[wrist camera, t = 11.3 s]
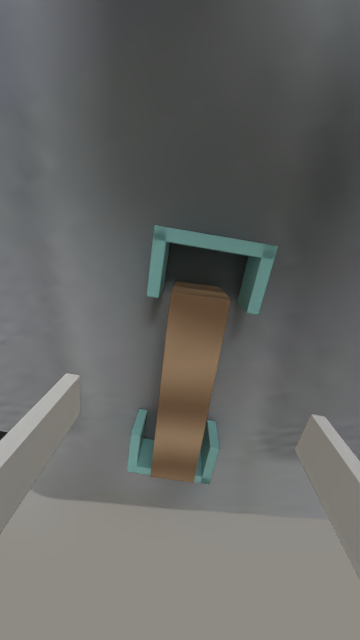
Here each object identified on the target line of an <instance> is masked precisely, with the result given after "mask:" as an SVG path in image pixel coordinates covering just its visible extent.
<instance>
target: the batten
mask: <svg viewBox="0 0 360 640" xmlns="http://www.w3.org/2000/svg"><path fill="white" fill-rule="evenodd" d="M230 302H231V300H230V298H229V297H228V296H227V295H226V294H225V293H224V291H223V290H222V289H221V288H220V287H219V286H211V285H204V284H196V283H188V282H181V281H176V282H175V284H174V286H173V289H172V291H171V296H170V305H169V314H168V323H167V331H166V340H165V349H164V358H163V367H162V376H161V385H160V394H159V403H158V412H157V421H156V430H155V439H154V448H153V457H152V466H151V475H150V477H156V478H163V479H171V480H178V481H186V482H193V483H194V479H195V474H196V469H197V464H198V459H199V454H200V449H201V445H202V440H203V435H204V430H205V425H206V420H207V415H208V410H209V405H210V400H211V396H212V391H213V386H214V381H215V376H216V371H217V366H218V361H219V356H220V351H221V347H222V342H223V337H224V332H225V327H226V322H227V317H228V312H229V307H230Z"/></svg>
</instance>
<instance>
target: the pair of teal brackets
mask: <svg viewBox="0 0 360 640" xmlns="http://www.w3.org/2000/svg"><path fill="white" fill-rule="evenodd" d="M170 243H172V244H178V245H183V246H189V247H195V248H201V249H207V250H213V251H219V252H225V253H231V254H237V255H243V256H248V261H247V265H246V269H245V273H244V277H243V281H242V285H241V289H240V293H239V297H238V301H237V303H238V304H239V305H240V306H241V307H242V308H243V309H244V310H245V312H246V313H251V314H257V315H258V314H259V311H260V307H261V304H262V301H263V297H264V294H265V290H266V287H267V283H268V280H269V276H270V273H271V269H272V266H273V263H274V259H275V256H276V252H277V249H278V246H274V245H268V244H262V243H257V242H251V241H245V240H239V239H233V238H227V237H221V236H215V235H209V234H204V233H198V232H192V231H186V230H180V229H174V228H168V227H162V226H156V225H154V234H153V243H152V252H151V261H150V270H149V279H148V288H147V296H149V297H155V298H159V296H160V295H161V293H162V292H163V290H164V284H165V276H166V269H167V262H168V254H169V247H170ZM146 415H147V410H142V409H139V411H138V414H137V417H136V420H135V423H134V427H133V430H132V433H131V439H130V448H129V457H128V466H127V471H128V472H134V473H140V474H147V475H151V466H152V457H153V448H154V440H151V439H145V438H143V437H144V430H145V423H146ZM219 449H220V447H219V441H218V435H217V428H216V422H215V421H210V420H207V424H206V428H205V432H204V436H203V440H202V445H201V449H200V454H199V459H198V464H197V469H196V474H195V479H194V482H197V483H204V484H209V483H210V480H211V476H212V473H213V470H214V466H215V463H216V459H217V456H218V452H219Z"/></svg>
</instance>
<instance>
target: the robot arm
mask: <svg viewBox="0 0 360 640" xmlns="http://www.w3.org/2000/svg"><path fill="white" fill-rule="evenodd" d="M79 415H80V376H79V375H73V374H67V373H66V374H65V375H64V376H63V377H62V378H61V379H60V380H59V381H58V382H57V383H56V384H55V385H54V386H53V387H52V388H51V389H50V390H49V392H48V393H47V394H46V395H45V396H44V397H43V398H42V399H41V400H40V401H39V402H38V403H37V404H36V405H35V406H34V407H33V408H32V409H31V410H30V411H29V412H28V413H27V414H26V415H25V416H24V417H23V418H22V419H21V420H20V421H19V422H18V423H17V424H16V425H15V426H14V427H13V428H12V429H11V430H10V431H9V432H2V431H0V534H1V532H2V531H3V529H4V528H5V526H6V525H7V523H8V522H9V520H10V518H11V517H12V515H13V514H14V513H15V511H16V509H17V508H18V506H19V505H20V504H21V502H22V501H23V499H24V498H25V496H26V495H27V493H28V491H29V490H30V489H31V487H32V486H33V484H34V483H35V481H36V480H37V478H38V477H39V475H40V474H41V472H42V471H43V469H44V468H45V466H46V464H47V463H48V461H49V460H50V458H51V457H52V455H53V454H54V452H55V451H56V449H57V448H58V446H59V445H60V443H61V442H62V440H63V439H64V437H65V436H66V434H67V433H68V431H69V430H70V428H71V427H72V425H73V424H74V422H75V421H76V419H77V418H78V416H79ZM295 452H296V454H297V456H298V458H299V460H300V462H301V464H302V466H303V468H304V470H305V472H306V474H307V476H308V478H309V480H310V482H311V484H312V486H313V488H314V490H315V492H316V494H317V495H318V497H319V499H320V501H321V503H322V505H323V507H324V509H325V511H326V513H327V515H328V517H329V519H330V521H331V523H332V525H333V527H334V529H335V531H336V533H337V535H338V537H339V539H340V541H341V543H342V545H343V547H344V549H345V551H346V553H347V555H348V557H349V559H350V561H351V563H352V565H353V567H354V569H355V571H356V573H357V575H358V577H359V579H360V461H359V460H358V459H357V457H356V456H355V455H354V454H353V452H352V451H351V450H350V448H349V447H348V446H347V445H346V443H345V442H344V441H343V439H342V438H341V437H340V436H339V434H338V433H337V432H336V430H335V429H334V428H333V427H332V425H331V424H330V423H329V421H328V420H327V419H326V418H325V417H324V416H318V415H312V414H311V416H310V418H309V420H308V422H307V425H306V427H305V429H304V431H303V433H302V435H301V437H300V439H299V442H298V444H297V446H296V448H295Z"/></svg>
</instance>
